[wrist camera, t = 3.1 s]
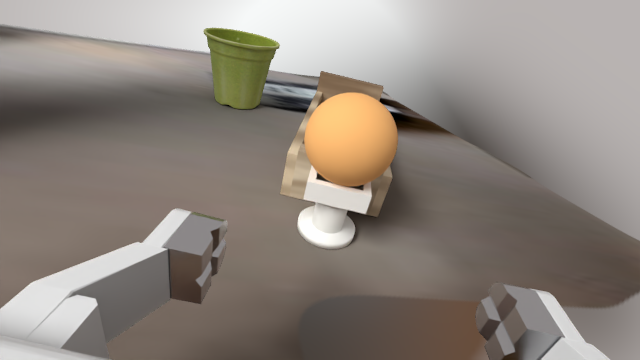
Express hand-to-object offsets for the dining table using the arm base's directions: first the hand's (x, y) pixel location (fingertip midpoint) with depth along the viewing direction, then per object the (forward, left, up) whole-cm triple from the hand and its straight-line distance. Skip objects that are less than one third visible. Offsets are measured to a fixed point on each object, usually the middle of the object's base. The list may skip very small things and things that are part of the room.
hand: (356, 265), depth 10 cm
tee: (-4, +11, -8) cm, 15 cm away
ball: (-4, +11, -4) cm, 13 cm away
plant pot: (-26, +28, -9) cm, 40 cm away
